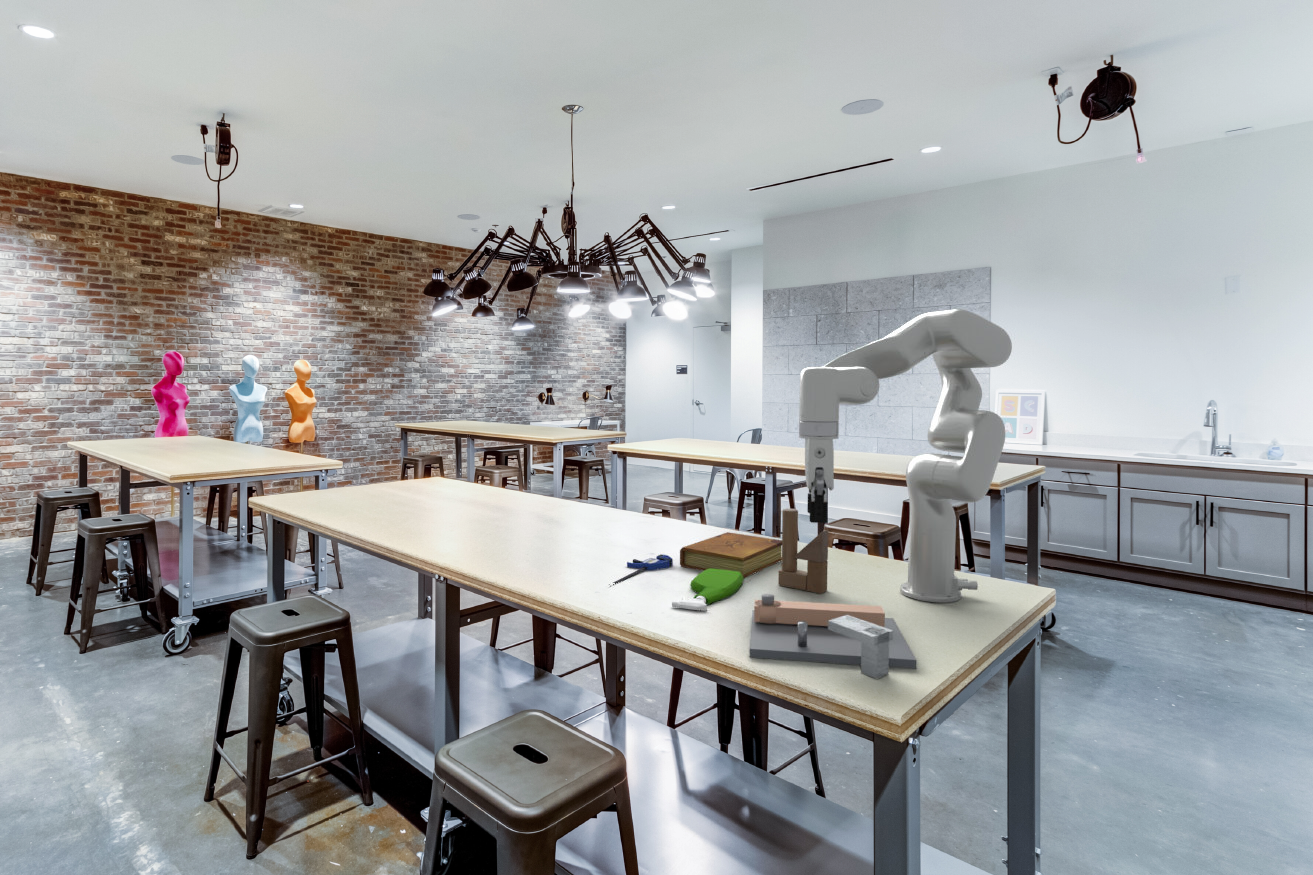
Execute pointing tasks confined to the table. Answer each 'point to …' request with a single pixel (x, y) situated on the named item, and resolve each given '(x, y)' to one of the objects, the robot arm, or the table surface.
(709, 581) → the spray bottle
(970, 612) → the table surface
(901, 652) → the base board
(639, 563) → the bar clamp
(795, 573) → the wooden block
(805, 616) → the link
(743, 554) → the diary
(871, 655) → the keeper
